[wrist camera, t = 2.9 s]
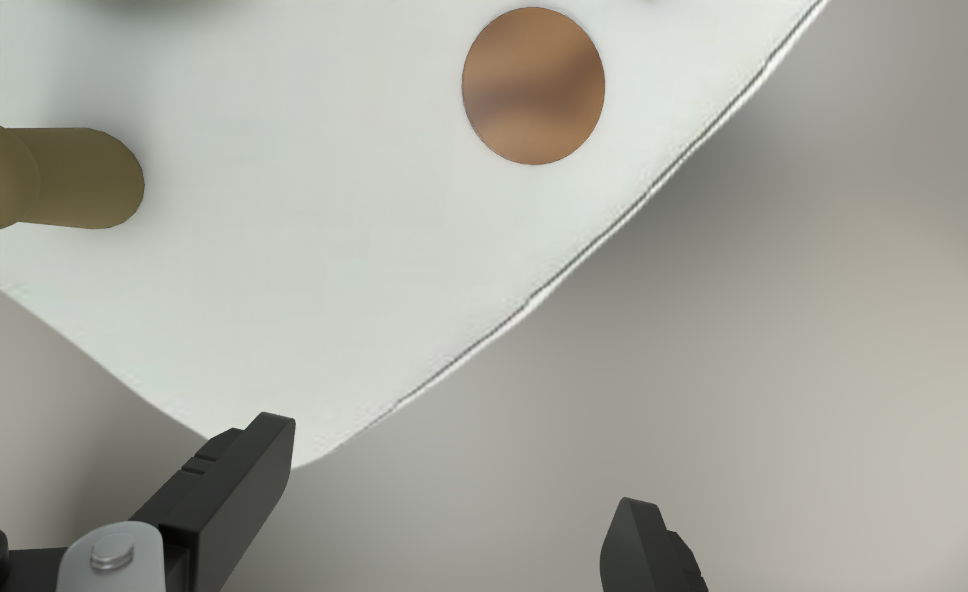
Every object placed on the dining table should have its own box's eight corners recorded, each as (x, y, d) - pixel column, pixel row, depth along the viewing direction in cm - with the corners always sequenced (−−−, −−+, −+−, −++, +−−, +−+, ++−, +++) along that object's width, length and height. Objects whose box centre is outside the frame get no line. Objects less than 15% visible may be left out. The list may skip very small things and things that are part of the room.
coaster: (431, 69, 32) (431, 68, 32) (550, -24, 32) (552, -26, 32) (519, 193, 35) (520, 193, 34) (628, 107, 35) (631, 106, 35)
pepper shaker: (157, 154, 30) (30, 132, 20) (127, 244, 31) (-12, 270, 20) (48, 109, 29) (-153, 60, 18) (18, 205, 29) (-191, 211, 19)
